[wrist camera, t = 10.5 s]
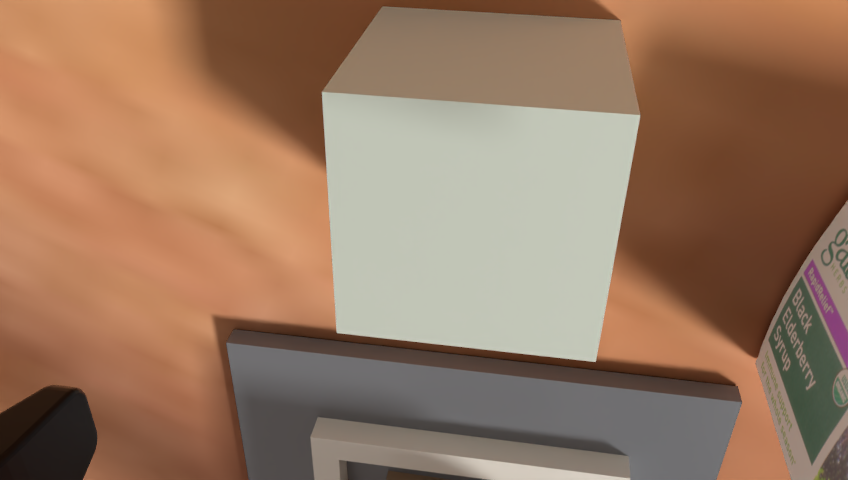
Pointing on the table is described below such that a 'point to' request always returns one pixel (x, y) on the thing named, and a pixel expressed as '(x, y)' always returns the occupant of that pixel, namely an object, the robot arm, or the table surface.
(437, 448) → the square panel
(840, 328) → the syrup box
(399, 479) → the walnut block
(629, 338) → the table surface
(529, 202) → the sage block
